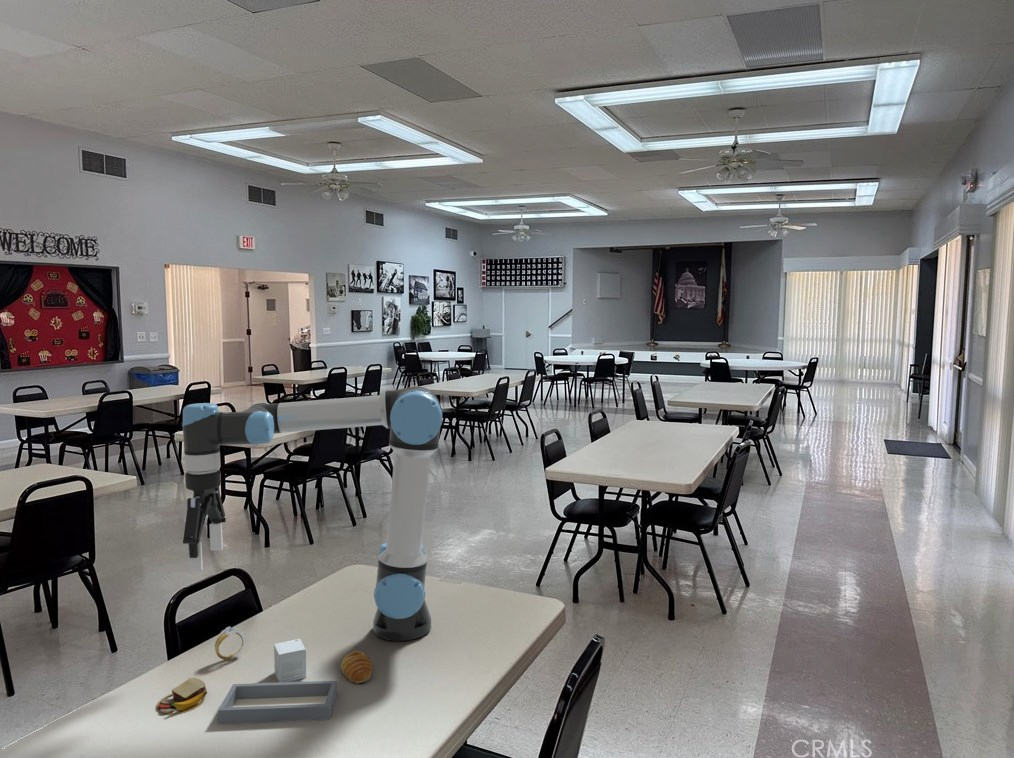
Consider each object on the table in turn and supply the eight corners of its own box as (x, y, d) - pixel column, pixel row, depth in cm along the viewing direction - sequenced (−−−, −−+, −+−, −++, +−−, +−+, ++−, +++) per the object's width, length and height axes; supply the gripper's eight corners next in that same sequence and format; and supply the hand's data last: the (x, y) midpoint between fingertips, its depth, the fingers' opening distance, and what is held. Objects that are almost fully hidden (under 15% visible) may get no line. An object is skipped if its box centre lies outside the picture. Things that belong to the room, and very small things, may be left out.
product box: (274, 673, 161) (273, 643, 161) (301, 667, 164) (300, 637, 164) (279, 686, 156) (278, 654, 155) (306, 679, 159) (306, 648, 158)
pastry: (378, 682, 158) (378, 666, 157) (348, 688, 155) (348, 672, 154) (366, 662, 166) (367, 647, 166) (338, 668, 163) (338, 652, 162)
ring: (216, 666, 165) (215, 633, 164) (214, 660, 167) (213, 628, 167) (247, 658, 168) (246, 626, 168) (244, 653, 171) (243, 621, 170)
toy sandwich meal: (148, 706, 148) (147, 690, 148) (195, 687, 156) (195, 672, 155) (168, 724, 142) (167, 707, 142) (216, 703, 150) (215, 687, 149)
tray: (337, 695, 152) (337, 680, 152) (329, 722, 142) (329, 706, 142) (233, 699, 150) (233, 684, 150) (218, 726, 140) (217, 710, 140)
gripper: (205, 459, 173) (209, 542, 175) (163, 484, 148) (168, 580, 150) (236, 459, 174) (239, 542, 176) (199, 483, 149) (204, 579, 151)
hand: (206, 560), depth 163 cm, fingers open, 13 cm apart
